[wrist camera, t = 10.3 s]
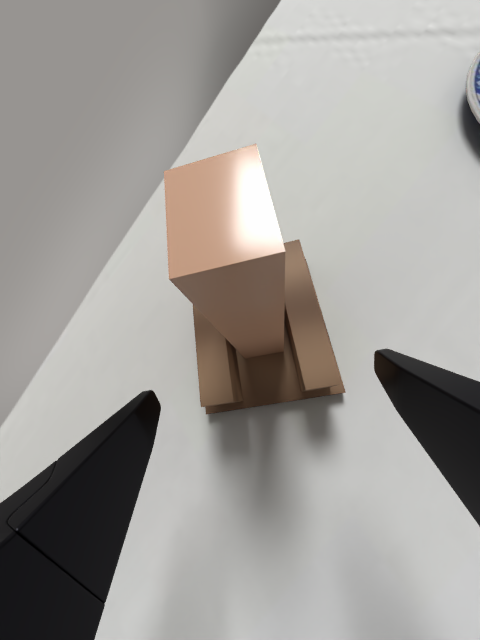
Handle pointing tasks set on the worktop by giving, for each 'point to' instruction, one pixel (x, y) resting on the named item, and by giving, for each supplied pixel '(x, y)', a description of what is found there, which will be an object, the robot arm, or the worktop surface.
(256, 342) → the clay block
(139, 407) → the robot arm
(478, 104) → the ceramic plate
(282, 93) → the worktop surface
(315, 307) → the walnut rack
